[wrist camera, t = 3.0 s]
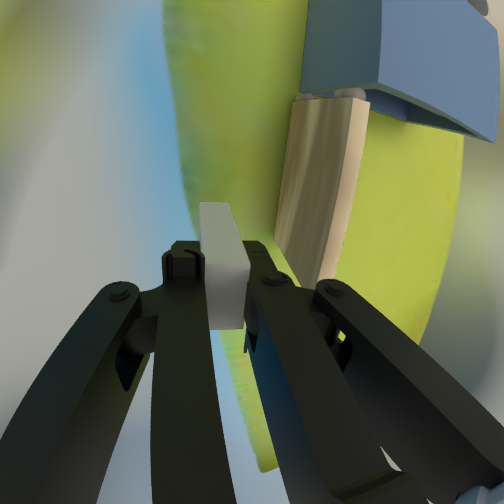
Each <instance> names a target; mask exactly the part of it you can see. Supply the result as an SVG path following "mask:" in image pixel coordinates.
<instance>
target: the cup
mask: <svg viewBox="0 0 504 504" xmlns="http://www.w3.org/2000/svg"><path fill="white" fill-rule="evenodd" d="M466 1H467V2H468V3H469V4H471V5H472V6H473V7H474V8H475V9H476V10H477V11H478V12H479V13H480V14H481V15H482V16H483V17H484V18H488V17H489V14H490V9H489V5H488V2H487V0H466Z"/></svg>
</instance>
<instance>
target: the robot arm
mask: <svg viewBox="0 0 504 504" xmlns="http://www.w3.org/2000/svg"><path fill="white" fill-rule="evenodd" d="M162 273H163V284H162V285H160V286H159V287H157V288H155V289H152V290H148V291H143V292H140V291H139V288H138V287H137V286H136V285H135V284H133V283H130V282H122V281H119V282H113V283H111V284H108V285H106V286H105V287H104V288H102V289H101V290H100V291H99V293H98V294H97V295H96V296H95V297H94V299H93V300H92V301H91V302H90V304H89V305H88V306H87V308H86V309H85V310H84V311H83V313H82V314H81V315H80V316H79V318H78V319H77V320H76V322H75V323H74V325H73V326H72V327H71V328H70V330H69V331H68V333H67V334H66V335H65V336H64V338H63V339H62V341H61V342H60V343H59V345H58V346H57V348H56V349H55V350H54V352H53V353H52V355H51V356H50V358H49V359H48V361H47V362H46V364H45V365H44V366H43V368H42V369H41V371H40V373H39V374H38V376H37V377H36V379H35V380H34V382H33V383H32V385H31V386H30V388H29V390H28V391H27V393H26V395H25V396H24V398H23V400H22V401H21V403H20V405H19V407H18V408H17V410H16V412H15V414H14V415H13V417H12V419H11V421H10V422H9V424H8V426H7V428H6V430H5V432H4V434H3V436H2V438H1V440H0V504H96V502H97V499H98V495H99V492H100V489H101V486H102V483H103V480H104V477H105V474H106V471H107V468H108V464H109V462H110V459H111V456H112V453H113V450H114V447H115V445H116V441H117V439H118V436H119V433H120V431H121V428H122V425H123V423H124V420H125V417H126V415H127V412H128V410H129V407H130V404H131V402H132V399H133V397H134V394H135V392H136V389H137V387H138V384H139V382H140V380H141V377H142V375H143V372H144V370H145V367H146V365H147V363H148V360H149V358H150V353H152V352H155V353H154V366H153V380H152V398H151V431H150V432H151V434H150V436H151V438H150V453H151V486H152V501H153V504H237V503H236V498H235V493H234V488H233V483H232V478H231V473H230V468H229V462H228V457H227V452H226V445H225V440H224V434H223V427H222V422H221V415H220V408H219V401H218V395H217V387H216V380H215V373H214V365H213V356H212V348H211V339H210V331H209V330H223V329H243V326H244V319H245V322H246V326H247V327H246V335H245V343H244V353H247V348H248V351H249V355H250V359H251V363H252V367H253V371H254V375H255V379H256V383H257V387H258V391H259V395H260V398H261V402H262V406H263V410H264V414H265V417H266V421H267V425H268V429H269V432H270V436H271V440H272V443H273V447H274V450H275V454H276V458H277V461H278V465H279V468H280V472H281V475H282V478H283V482H284V485H285V489H286V492H287V495H288V499H289V502H290V504H429V503H428V500H429V501H431V502H432V503H433V504H504V427H503V426H502V425H501V424H500V423H499V422H498V421H497V420H496V419H495V418H494V417H493V416H492V415H491V414H490V413H489V412H488V411H487V410H486V409H485V408H484V407H483V406H482V405H481V404H480V403H479V402H478V401H477V400H476V399H475V398H474V397H473V396H472V395H471V394H470V393H469V392H468V391H467V390H466V389H465V388H464V387H462V385H460V384H459V383H458V382H457V381H456V380H455V379H454V378H453V377H452V376H451V375H450V374H449V373H447V371H445V370H444V369H443V368H442V367H441V366H440V365H439V364H438V363H437V362H436V361H435V360H434V359H433V358H431V357H430V356H429V355H428V354H427V353H426V352H425V351H423V350H422V349H421V348H420V347H419V346H418V345H417V344H416V343H415V342H414V341H413V340H411V339H410V338H409V337H408V336H407V335H406V334H405V333H403V332H402V331H401V330H400V329H399V328H398V327H397V326H395V325H394V324H393V323H392V322H391V321H390V320H389V319H387V318H386V317H385V316H384V315H383V314H382V313H380V312H379V311H378V310H377V309H376V308H375V307H373V306H372V305H371V304H370V303H369V302H368V301H366V300H365V299H364V298H363V297H362V296H360V295H359V294H358V293H357V292H356V291H355V290H353V289H352V288H351V287H350V286H348V285H347V284H345V283H344V282H341V281H339V280H337V279H322V280H320V281H318V282H317V283H316V286H315V290H314V289H307V288H301V287H297V286H295V284H294V283H293V281H292V279H291V278H290V277H289V276H288V275H287V274H285V273H283V272H280V271H278V270H277V268H276V266H275V264H274V262H273V260H272V258H271V257H270V255H269V253H268V251H267V249H266V247H265V246H264V245H263V244H262V243H260V242H259V241H242V239H241V237H240V234H239V231H238V229H237V226H236V223H235V220H234V218H233V215H232V212H231V209H230V207H229V204H228V202H199V228H198V241H176V242H175V243H174V244H173V245H172V246H171V250H168V251H167V252H165V253H164V254H163V256H162ZM340 330H341V331H342V332H343V333H344V334H345V335H346V337H345V339H344V341H341V340H340V339H339V338H338V335H339V333H340ZM380 446H381V447H382V448H383V449H384V451H385V452H386V453H387V454H388V455H389V457H390V458H391V459H392V460H393V461H394V462H395V464H396V465H397V466H398V467H399V468H400V469H401V471H402V472H401V471H396V470H394V469H393V468H392V467H391V466H390V465H389V463H388V462H387V460H386V457H385V455H384V453H383V451H382V449H381V448H380ZM427 499H428V500H427Z"/></svg>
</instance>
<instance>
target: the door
mask: <svg viewBox="0 0 504 504" xmlns="http://www.w3.org/2000/svg"><path fill="white" fill-rule="evenodd" d="M365 99H366V94H365V92H364V90H363V89H361V88H346V89H338V90H336V91H335V92H334V98H328V99H316V98H315V96H314V94H312V93H306V94H299V95H297V96H296V97H295V101H293V102H292V109H291V117H290V124H289V132H288V140H287V147H286V155H285V162H284V170H283V177H282V184H281V191H280V198H279V205H278V212H277V219H276V226H275V232H274V240H275V242H276V244H277V245H278V247H279V249H280V250H281V252H282V254H283V256H284V257H285V259H286V261H287V262H288V264H289V266H290V268H291V269H292V271H293V273H294V275H295V276H296V278H297V280H298V282H299V283H300V285H301V287H302V288H307V289H314V290H315V286H316V283H317V282H318V281H320V280H322V279H333V278H334V275H335V271H336V268H337V264H338V260H339V257H340V253H341V249H342V245H343V241H344V238H345V234H346V229H347V225H348V221H349V217H350V213H351V208H352V204H353V199H354V195H355V190H356V185H357V180H358V175H359V170H360V165H361V159H362V154H363V148H364V142H365V136H366V130H367V123H368V116H369V108H370V102H367V101H365Z"/></svg>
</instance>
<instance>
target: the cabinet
mask: <svg viewBox="0 0 504 504" xmlns="http://www.w3.org/2000/svg"><path fill="white" fill-rule="evenodd" d="M346 88H361V89H363V90H364V92H365V94H366V99H365V101H367V102H370V108H369V110H372V111H375V112H378V113H382V114H385V115H387V116H390V117H393V118H396V119H399V120H402V121H404V122H407V123H412V124H418V125H423V126H428V127H433V128H438V129H442V130H447V131H451V132H455V133H459V134H463V135H467V136H470V137H474V138H478V139H481V140H484V141H488V142H491V143H494V144H495V140H496V132H497V124H498V112H499V96H500V95H499V94H500V63H499V46H498V36H497V30H496V29H495V28H494V27H493V26H492V25H491V24H490V23H489V22H488V21H487V20H486V19H485V18H484V17H483V16H482V15H481V14H480V13H479V12H478V11H477V10H476V9H475V8H474V7H473V6H472V5H471V4H469V3H468V2H467V1H466V0H309V6H308V16H307V27H306V36H305V46H304V55H303V64H302V73H301V82H300V90H299V92H301V93H312V94H314V95H316V96H320V97H325V98H334V92H335V91H336V90H338V89H346Z"/></svg>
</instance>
